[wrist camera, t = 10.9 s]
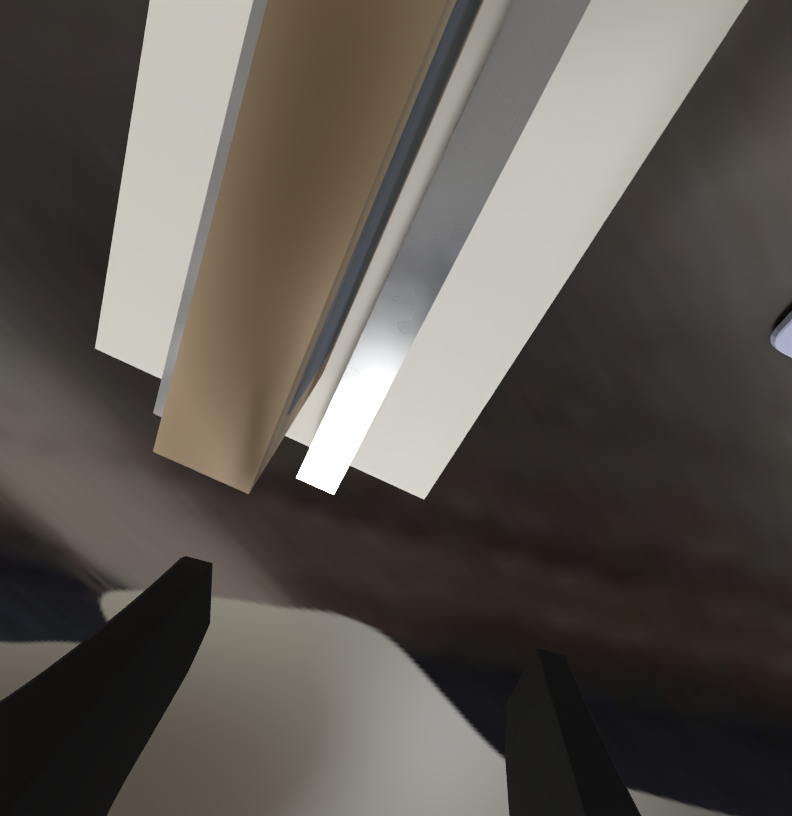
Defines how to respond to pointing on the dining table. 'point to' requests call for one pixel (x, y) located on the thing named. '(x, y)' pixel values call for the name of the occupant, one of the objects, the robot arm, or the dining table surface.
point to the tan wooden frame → (301, 215)
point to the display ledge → (411, 208)
